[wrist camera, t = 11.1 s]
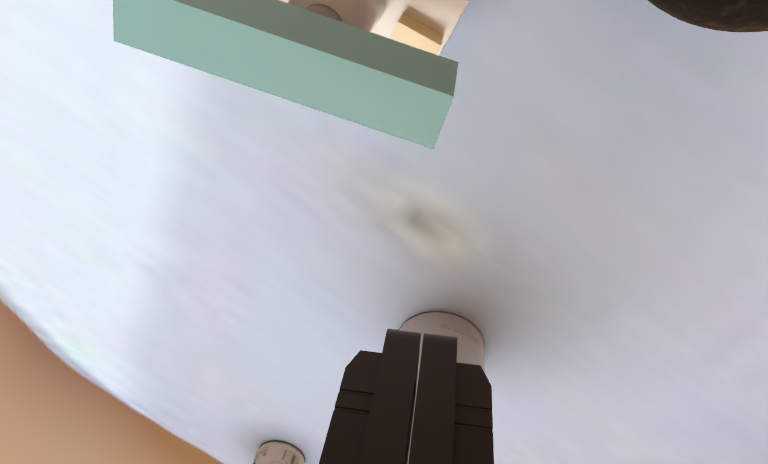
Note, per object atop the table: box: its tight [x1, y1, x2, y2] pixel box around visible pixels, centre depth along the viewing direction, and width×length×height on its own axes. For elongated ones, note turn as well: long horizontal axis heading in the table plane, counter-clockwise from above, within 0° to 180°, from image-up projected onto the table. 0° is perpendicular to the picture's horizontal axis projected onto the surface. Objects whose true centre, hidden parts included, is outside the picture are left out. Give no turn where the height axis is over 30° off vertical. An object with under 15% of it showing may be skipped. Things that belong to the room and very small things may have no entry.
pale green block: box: [113, 0, 458, 149], centre depth 26 cm, size 15×3×7 cm, turn 74°
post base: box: [279, 0, 469, 56], centre depth 33 cm, size 14×14×10 cm
